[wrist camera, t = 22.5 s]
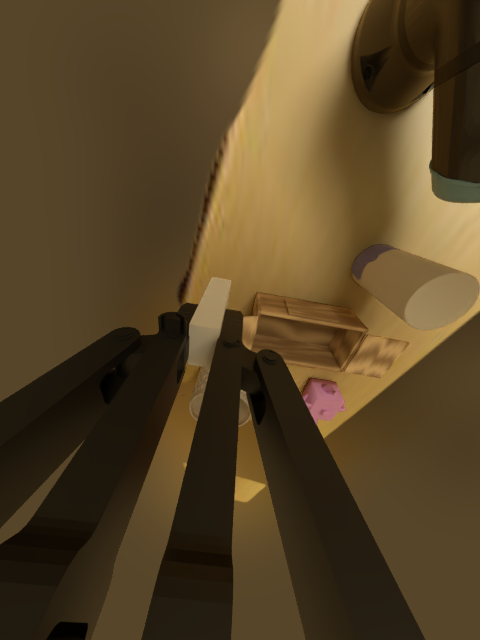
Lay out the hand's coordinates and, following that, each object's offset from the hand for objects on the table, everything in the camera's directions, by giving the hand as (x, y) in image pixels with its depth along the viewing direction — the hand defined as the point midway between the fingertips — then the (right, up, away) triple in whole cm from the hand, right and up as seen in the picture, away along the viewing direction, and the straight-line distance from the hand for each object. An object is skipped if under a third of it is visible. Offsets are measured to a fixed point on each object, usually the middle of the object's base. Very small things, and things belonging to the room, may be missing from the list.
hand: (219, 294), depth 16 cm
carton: (+18, -3, +41) cm, 45 cm away
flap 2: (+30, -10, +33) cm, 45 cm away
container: (+34, +11, +32) cm, 48 cm away
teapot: (+29, -26, +56) cm, 68 cm away
